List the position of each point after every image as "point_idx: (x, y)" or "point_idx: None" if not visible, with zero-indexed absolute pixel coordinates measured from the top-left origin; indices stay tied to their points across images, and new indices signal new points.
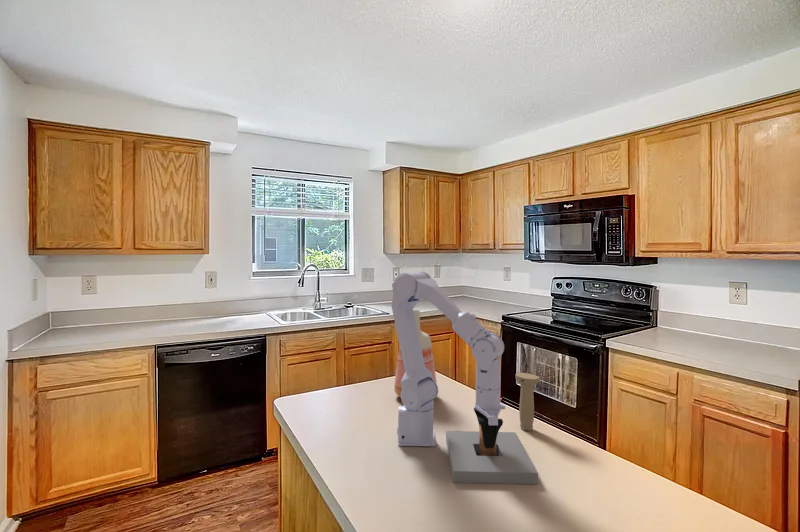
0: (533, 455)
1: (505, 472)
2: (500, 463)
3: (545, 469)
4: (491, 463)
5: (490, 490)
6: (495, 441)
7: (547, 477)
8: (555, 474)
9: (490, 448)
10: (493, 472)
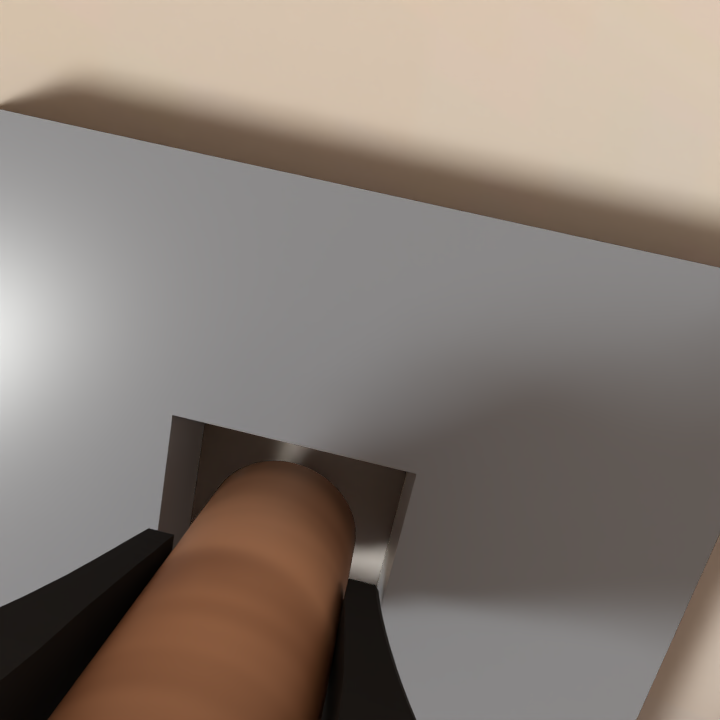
0: (266, 52)
1: (697, 574)
2: (543, 552)
3: (541, 67)
4: (521, 620)
5: (699, 646)
6: (382, 630)
7: (677, 125)
8: (653, 10)
9: (344, 591)
10: (657, 658)
